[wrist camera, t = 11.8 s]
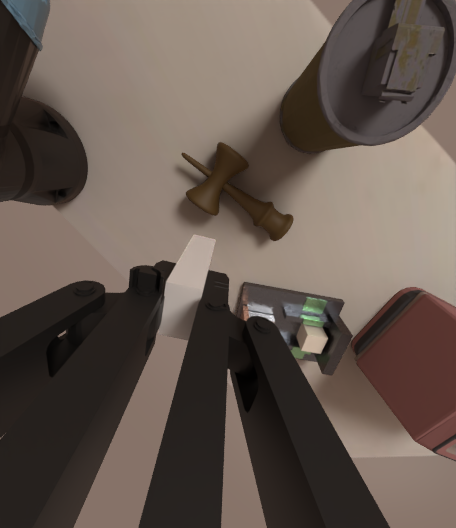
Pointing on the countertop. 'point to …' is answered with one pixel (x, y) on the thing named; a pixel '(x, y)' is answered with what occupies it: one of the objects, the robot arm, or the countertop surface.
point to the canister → (373, 75)
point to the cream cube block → (311, 338)
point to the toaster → (414, 365)
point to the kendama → (235, 192)
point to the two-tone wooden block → (254, 314)
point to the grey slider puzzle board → (301, 320)
